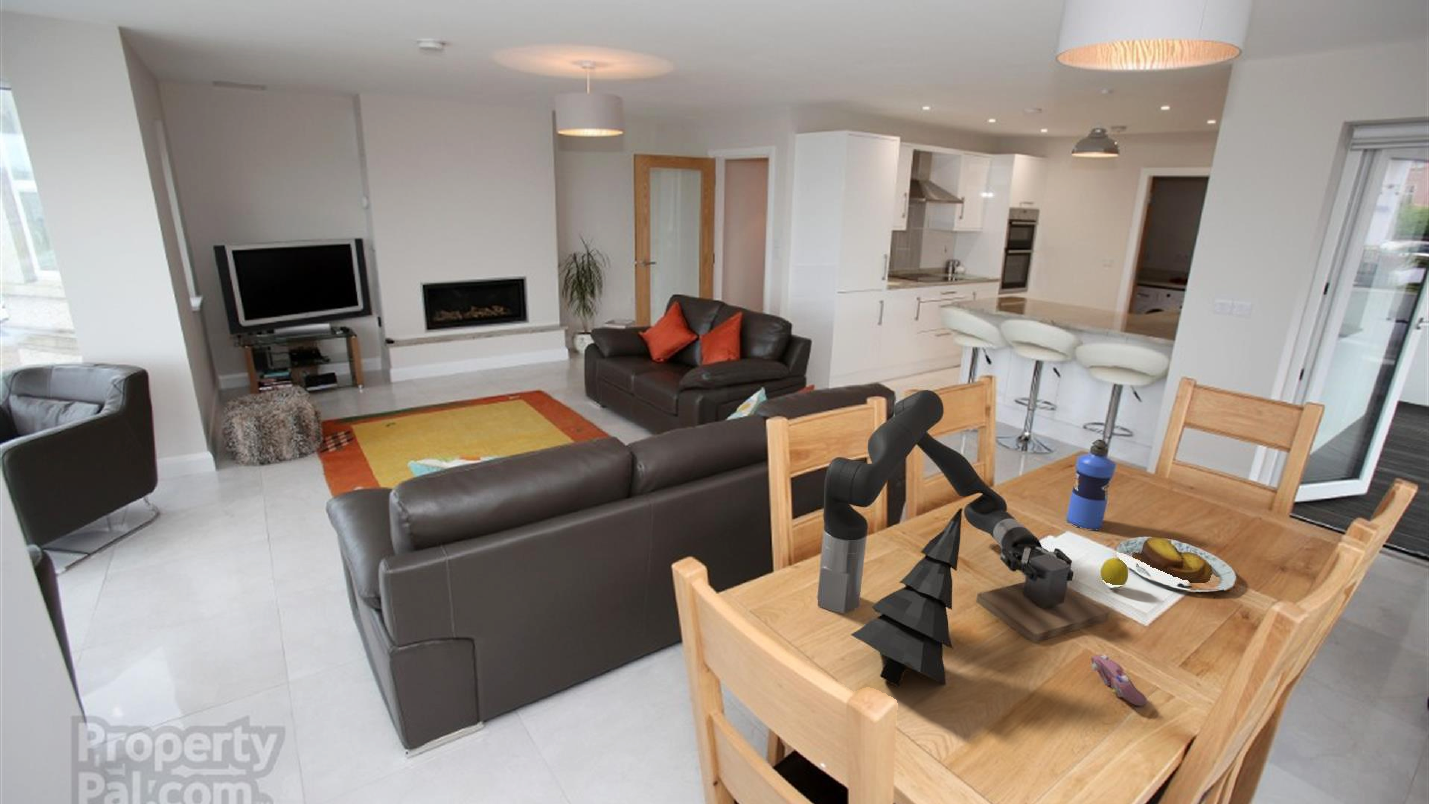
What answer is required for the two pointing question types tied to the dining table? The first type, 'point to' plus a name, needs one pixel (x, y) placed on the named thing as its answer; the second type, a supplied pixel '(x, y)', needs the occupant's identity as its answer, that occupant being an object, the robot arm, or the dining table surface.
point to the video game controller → (1117, 679)
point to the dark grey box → (1047, 581)
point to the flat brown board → (1041, 612)
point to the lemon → (1114, 571)
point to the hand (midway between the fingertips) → (1053, 577)
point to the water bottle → (1091, 487)
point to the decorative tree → (918, 612)
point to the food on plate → (1179, 560)
